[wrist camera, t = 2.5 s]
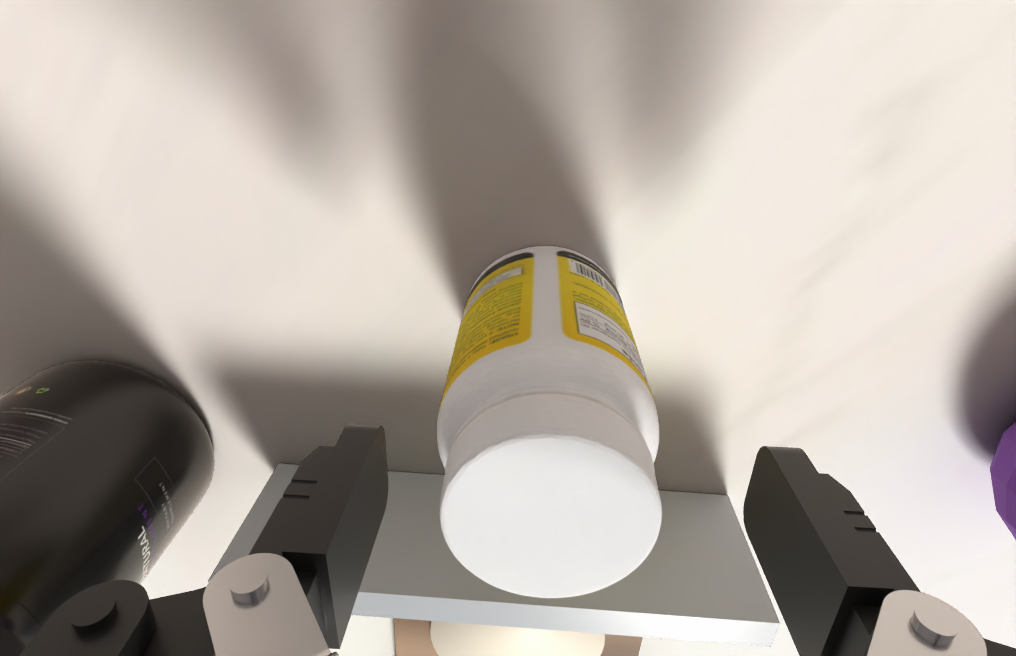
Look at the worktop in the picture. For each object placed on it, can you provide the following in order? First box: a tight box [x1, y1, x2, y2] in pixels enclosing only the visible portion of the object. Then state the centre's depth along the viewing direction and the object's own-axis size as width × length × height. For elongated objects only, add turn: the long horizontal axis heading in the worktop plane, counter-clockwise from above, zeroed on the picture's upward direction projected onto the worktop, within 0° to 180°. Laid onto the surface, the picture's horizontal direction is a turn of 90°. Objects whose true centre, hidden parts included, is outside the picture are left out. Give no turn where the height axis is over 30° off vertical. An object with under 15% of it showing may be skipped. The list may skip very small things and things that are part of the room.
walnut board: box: [394, 618, 642, 656], centre depth 24 cm, size 10×10×1 cm
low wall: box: [208, 463, 780, 647], centre depth 19 cm, size 1×16×5 cm, turn 87°
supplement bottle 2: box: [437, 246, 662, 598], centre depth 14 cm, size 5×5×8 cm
